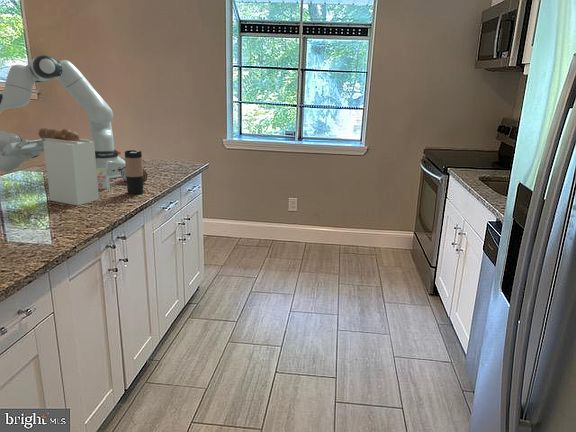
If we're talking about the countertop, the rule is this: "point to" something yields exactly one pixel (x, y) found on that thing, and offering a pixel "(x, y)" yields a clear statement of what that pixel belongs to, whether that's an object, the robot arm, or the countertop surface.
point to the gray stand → (71, 171)
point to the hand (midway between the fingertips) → (37, 139)
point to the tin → (123, 174)
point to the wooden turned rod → (58, 134)
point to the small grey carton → (103, 178)
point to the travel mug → (134, 172)
